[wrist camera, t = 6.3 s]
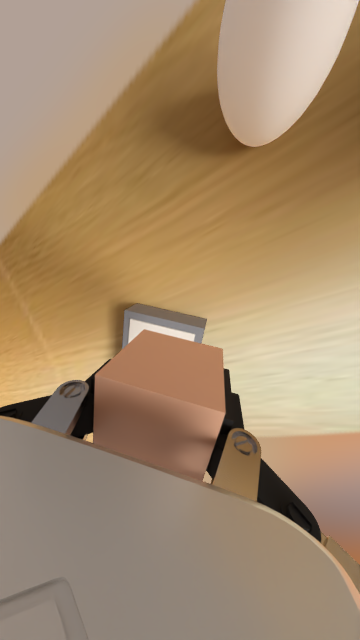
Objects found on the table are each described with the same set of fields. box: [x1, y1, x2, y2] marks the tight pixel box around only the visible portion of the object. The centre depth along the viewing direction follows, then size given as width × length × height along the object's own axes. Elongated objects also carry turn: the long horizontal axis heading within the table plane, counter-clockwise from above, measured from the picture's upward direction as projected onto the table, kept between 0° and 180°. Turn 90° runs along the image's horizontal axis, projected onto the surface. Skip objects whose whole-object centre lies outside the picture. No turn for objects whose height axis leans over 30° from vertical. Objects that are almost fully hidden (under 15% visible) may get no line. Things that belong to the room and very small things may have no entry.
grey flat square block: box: [122, 303, 207, 349], centre depth 28 cm, size 11×11×4 cm
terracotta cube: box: [93, 329, 226, 481], centre depth 10 cm, size 5×5×5 cm
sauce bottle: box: [217, 0, 359, 147], centre depth 11 cm, size 8×8×18 cm
